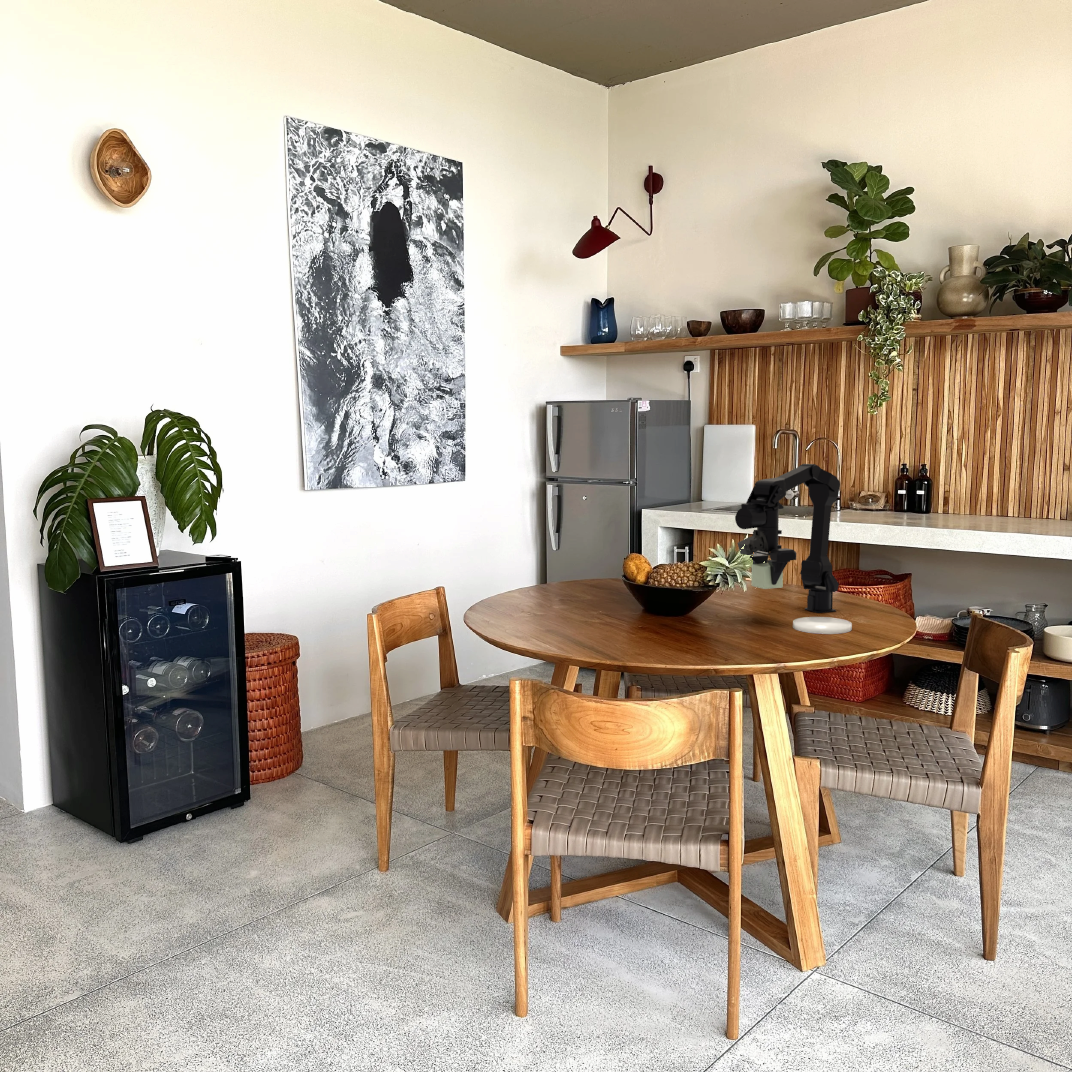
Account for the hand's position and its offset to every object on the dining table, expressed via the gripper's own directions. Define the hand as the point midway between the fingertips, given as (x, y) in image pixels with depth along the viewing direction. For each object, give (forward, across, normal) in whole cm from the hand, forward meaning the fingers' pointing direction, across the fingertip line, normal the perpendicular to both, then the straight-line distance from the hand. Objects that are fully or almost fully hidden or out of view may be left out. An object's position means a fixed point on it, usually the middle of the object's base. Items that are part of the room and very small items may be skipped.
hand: (767, 582), depth 267 cm
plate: (+11, +13, +8) cm, 19 cm away
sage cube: (+1, 0, 0) cm, 1 cm away
